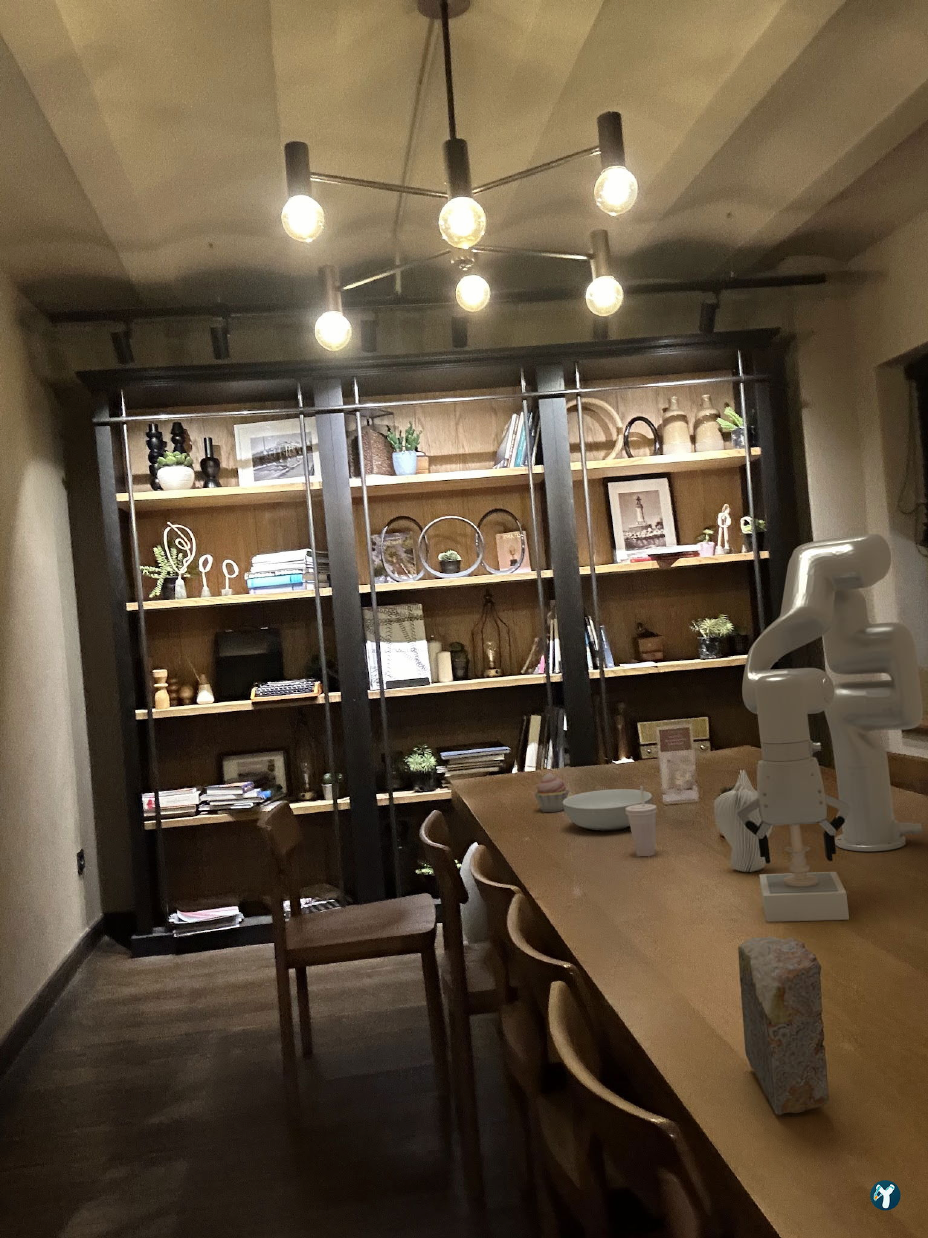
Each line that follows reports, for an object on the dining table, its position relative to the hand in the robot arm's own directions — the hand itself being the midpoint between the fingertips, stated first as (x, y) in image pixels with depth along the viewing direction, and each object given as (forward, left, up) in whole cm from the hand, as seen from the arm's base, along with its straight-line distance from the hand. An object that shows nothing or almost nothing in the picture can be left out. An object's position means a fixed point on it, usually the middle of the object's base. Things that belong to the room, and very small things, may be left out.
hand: (798, 860), depth 153 cm
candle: (0, 0, -4) cm, 4 cm away
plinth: (0, 0, -8) cm, 8 cm away
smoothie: (+27, -39, -8) cm, 48 cm away
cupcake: (+54, -90, -8) cm, 105 cm away
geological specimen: (+7, +59, -8) cm, 60 cm away
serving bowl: (+37, -67, -8) cm, 77 cm away
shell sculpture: (+7, -24, -8) cm, 26 cm away
